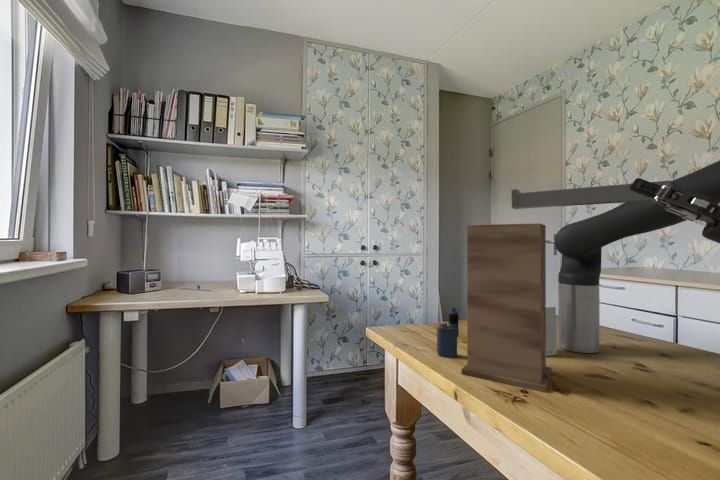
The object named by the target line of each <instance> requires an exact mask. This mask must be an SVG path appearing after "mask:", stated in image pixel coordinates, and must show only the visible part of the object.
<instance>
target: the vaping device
mask: <svg viewBox="0 0 720 480" xmlns="http://www.w3.org/2000/svg"><path fill="white" fill-rule="evenodd" d="M459 334H460V332H459V311H458V310H456V307H451V310H448V322H446V321H440V322H438V325H437V329H436V353H437V355H438V357H442V358H458V356H459V355H458V336H459Z"/></svg>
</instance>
